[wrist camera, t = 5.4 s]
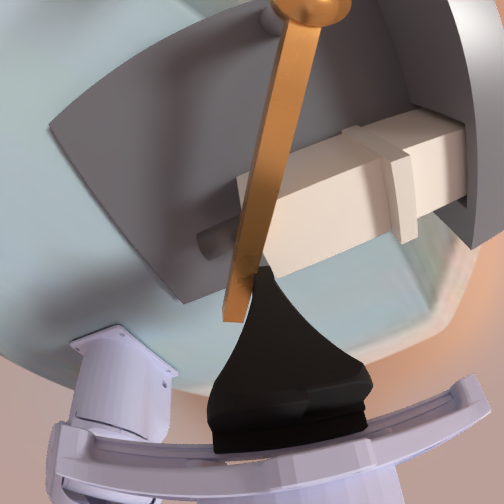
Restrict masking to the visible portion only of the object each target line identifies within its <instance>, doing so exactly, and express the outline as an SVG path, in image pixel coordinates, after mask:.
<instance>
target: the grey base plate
mask: <svg viewBox="0 0 504 504" xmlns="http://www.w3.org/2000/svg"><path fill="white" fill-rule="evenodd" d="M351 1H352V3H351V8H350V11H349V13H348V14H347V15H346V17H345V18H344V19H342V20H341V21H339V22H337V23H335V24H332V25H329V26H326V27H323V28H321V31H320V35H319V39H318V43H317V47H316V51H315V55H314V59H313V63H312V67H311V71H310V75H309V79H308V83H307V87H306V91H305V95H304V99H303V102H302V106H301V110H300V114H299V118H298V122H297V126H296V130H295V133H294V137H293V141H292V145H291V149H290V152H289V154H291V153H293V152H295V151H298V150H300V149H303V148H305V147H308V146H311V145H313V144H316V143H318V142H321V141H323V140H326V139H329V138H331V137H334V136H337V135H340V134H342V131H341V130H343V129H346V128H349V127H352V126H355V125H358V126H360V127H362V126H365V125H368V124H371V123H374V122H377V121H380V120H383V119H386V118H389V117H393V116H396V115H399V114H402V113H406V112H409V111H412V110H416V109H419V108H423V107H424V108H427V109H430V110H433V111H435V112H438V113H441V114H443V115H446V116H448V117H451V118H453V119H456V120H458V121H460V122H463V123H465V130H466V143H467V165H468V192H467V195H465V196H463V197H461V198H459V199H457V200H455V201H453V202H451V203H449V204H447V205H445V206H443V207H440V208H438V209H436V210H434V211H433V212H434V213H435V214H436V215H437V216H438V217H439V218H440V219H441V220H442V221H443V222H444V223H445V224H446V225H447V226H448V227H449V228H450V229H451V230H452V231H453V232H454V233H455V234H456V235H457V236H458V237H459V238H460V239H461V240H462V241H463V242H464V243H465V244H466V245H467V246H468V247H469V248H470V249H471V250H472V249H474V248H476V247H478V246H479V245H481V244H482V243H484V242H486V241H487V240H489V239H490V238H492V237H494V236H495V235H497V234H498V233H500V232H501V231H503V230H504V29H503V26H502V22H501V19H500V16H499V13H498V10H497V7H496V4H495V1H494V0H351ZM283 24H284V21H282V20H281V19H280V18H279V17H278V16H277V15H276V14H275V13H274V11H273V10H272V8H271V5H270V2H269V0H254V1H250V2H247V3H244V4H242V5H239V6H236V7H233V8H230V9H228V10H225V11H223V12H220V13H218V14H215V15H213V16H210V17H208V18H206V19H203V20H201V21H199V22H197V23H195V24H192V25H190V26H188V27H186V28H184V29H182V30H180V31H178V32H176V33H174V34H172V35H170V36H168V37H166V38H165V39H163V40H161V41H159V42H157V43H156V44H154V45H152V46H150V47H149V48H147V49H145V50H144V51H142V52H140V53H139V54H137V55H136V56H134V57H132V58H131V59H129V60H128V61H126V62H125V63H123V64H122V65H120V66H119V67H117V68H116V69H114V70H113V71H112V72H110V73H109V74H107V75H106V76H105V77H103V78H102V79H101V80H99V81H98V82H97V83H95V84H94V85H93V86H91V87H90V88H89V89H88V90H86V91H85V92H84V93H83V94H82V95H80V96H79V97H78V98H77V99H76V100H74V101H73V102H72V103H71V104H70V105H69V106H67V107H66V108H65V109H64V110H63V111H62V112H61V113H60V114H59V115H58V116H56V117H55V118H54V119H53V120H52V121H51V122H50V123H49V126H50V128H51V129H52V131H53V133H54V134H55V136H56V137H57V139H58V141H59V142H60V144H61V145H62V147H63V149H64V150H65V152H66V153H67V155H68V156H69V158H70V159H71V161H72V163H73V164H74V166H75V167H76V169H77V170H78V171H79V173H80V174H81V176H82V177H83V179H84V180H85V182H86V183H87V185H88V186H89V187H90V189H91V190H92V192H93V193H94V194H95V196H96V197H97V199H98V200H99V201H100V203H101V204H102V206H103V207H104V208H105V210H106V211H107V212H108V214H109V215H110V216H111V218H112V219H113V220H114V222H115V223H116V224H117V225H118V227H119V228H120V229H121V231H122V232H123V233H124V234H125V236H126V237H127V238H128V240H129V241H130V242H131V243H132V245H133V246H134V247H135V248H136V249H137V251H138V252H139V253H140V254H141V256H142V257H143V258H144V259H145V260H146V262H147V263H148V264H149V265H150V266H151V268H152V269H153V270H154V271H155V272H156V274H157V275H158V276H159V277H160V278H161V279H162V281H163V282H164V283H165V284H166V285H167V286H168V287H169V289H170V290H171V291H172V292H173V293H174V294H175V295H176V296H177V298H178V299H179V300H180V301H181V302H182V303H183V304H186V303H189V302H191V301H194V300H197V299H199V298H202V297H204V296H207V295H209V294H212V293H215V292H217V291H220V290H222V289H225V288H226V286H227V280H228V275H229V270H230V265H231V260H232V255H233V251H231V252H229V253H227V254H224V255H222V256H220V257H217V258H215V259H213V260H210V261H208V260H206V259H205V258H204V256H203V255H202V253H201V251H200V249H199V247H198V244H197V240H196V235H197V233H199V232H201V231H203V230H206V229H208V228H210V227H212V226H214V225H217V224H219V223H221V222H223V221H225V220H228V219H230V218H232V217H234V216H236V215H239V214H241V204H240V198H239V191H238V185H237V178H236V177H238V176H240V175H242V174H244V173H246V172H249V171H250V167H251V163H252V158H253V153H254V149H255V144H256V140H257V135H258V131H259V126H260V122H261V117H262V113H263V108H264V104H265V99H266V95H267V91H268V86H269V82H270V78H271V73H272V69H273V65H274V61H275V56H276V52H277V48H278V44H279V40H280V36H281V32H282V28H283ZM259 266H270V265H269V263H268V262H267V260H266V258H265V256H264V254H263V253H262V257H261V260H260V264H259Z"/></svg>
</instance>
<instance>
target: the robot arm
mask: <svg viewBox="0 0 504 504" xmlns="http://www.w3.org/2000/svg"><path fill="white" fill-rule="evenodd" d="M70 346H71V347H72V348H73V349H74V350H76V351H77V352H78V353H79V354H81V355H82V356H83V359H82V362H81V366H80V370H79V374H78V378H77V382H76V387H75V391H74V396H73V401H72V405H71V410H70V416H69V420H68V421H67V422H64V421H60V422H59V423H56V424H54V426H53V428H52V431H51V435H50V439H49V444H48V451H47V458H46V492H47V494H48V495H49V498H50V501H51V502H52V503H53V504H161V502H162V500H163V499H167V500H179V501H197V504H405V501H404V498H403V493H402V490H401V486H400V482H399V479H398V475H397V471H396V468H395V466H396V465H399V464H401V463H403V462H405V461H408V460H410V459H412V458H414V457H416V456H419V455H421V454H423V453H425V452H427V451H429V450H430V449H433V448H435V447H437V446H439V445H441V444H442V443H444V442H446V441H448V440H450V439H451V438H453V437H455V436H457V435H458V434H460V433H462V432H463V431H465V430H466V429H468V428H469V427H471V426H472V425H474V424H475V423H476V422H478V421H480V420H481V419H482V418H484V417H485V416H486V415H488V414H489V413H490V412H491V411H492V410H491V408H490V405H489V403H488V401H487V399H486V397H485V394H484V392H483V390H482V388H481V386H480V384H479V382H478V380H477V378H476V376H475V374H474V373H472V374H470V375H468V376H466V377H464V378H462V379H460V380H459V381H457V382H456V383H455V384H453V385H452V386H451V388H450V389H449V390H447V391H444V392H442V393H440V394H438V395H436V396H433V397H431V398H428V399H426V400H424V401H421V402H419V403H416V404H413V405H411V406H408V407H406V408H403V409H400V410H397V411H394V412H391V413H389V414H386V415H383V416H379V417H376V418H373V419H369V420H366V417H365V414H364V410H365V405H364V402H363V401H364V399H365V398H366V397H367V396H368V394H369V393H370V392H371V390H372V388H373V383H372V380H371V378H370V375H369V373H368V371H367V370H366V368H365V366H364V364H363V363H362V362H360V361H358V360H357V359H355V358H353V357H351V356H350V355H348V354H347V353H345V352H344V351H342V350H341V349H339V348H338V347H336V346H335V345H334V344H333V343H331V342H330V341H329V340H328V339H326V338H325V337H324V336H323V335H321V334H320V333H319V332H318V331H317V330H316V329H315V328H314V327H312V326H311V325H310V324H309V323H308V322H307V321H306V320H305V319H304V317H303V316H302V315H301V314H300V313H299V312H298V311H297V310H296V308H295V307H294V306H293V305H292V304H291V302H290V301H289V300H288V299H287V297H286V296H285V294H284V293H283V292H282V290H281V289H280V287H279V286H278V284H277V283H276V281H275V280H274V275H273V272H272V269H271V267H270V266H259V268H258V271H257V273H254V286H253V289H252V302H251V305H250V309H249V313H248V316H247V319H246V322H245V325H244V327H243V330H242V333H241V335H240V337H239V340H238V342H237V344H236V346H235V348H234V350H233V352H232V354H231V356H230V358H229V359H228V361H227V363H226V365H225V366H224V368H223V370H222V371H221V373H220V374H219V376H218V377H217V379H216V380H215V382H214V385H213V388H212V390H211V393H210V397H209V400H208V405H207V422H208V425H209V427H210V429H211V431H212V435H213V444H197V445H195V444H164V443H161V442H162V441H163V440H164V438H165V436H166V435H167V433H168V430H169V426H170V406H171V385H172V378H173V377H177V376H178V371H176V370H175V369H174V368H172V367H171V366H170V365H168V364H167V363H166V362H164V361H163V360H162V359H161V358H159V357H158V356H157V355H155V354H154V353H153V352H152V351H150V350H149V349H148V348H147V347H146V346H144V345H143V344H142V343H141V342H139V341H138V340H137V339H136V338H135V337H134V336H132V335H131V334H130V333H129V332H128V331H127V330H125V329H124V328H123V327H122V326H120V325H115V326H112V327H110V328H107V329H104V330H102V331H99V332H96V333H93V334H91V335H88V336H85V337H83V338H80V339H77V340H74V341H72V342H71V343H70ZM264 458H270V459H267V460H264V461H257V462H251V463H244V464H235V465H227V464H226V463H225V461H242V460H254V459H264Z"/></svg>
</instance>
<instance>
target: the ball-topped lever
mask: <svg viewBox="0 0 504 504" xmlns="http://www.w3.org/2000/svg"><path fill="white" fill-rule="evenodd" d="M269 2H270V5H271V8H272V10H273V11H274V13H275V14H276V15H277V16H278V17H279V18H280V19H281V20H282V21H284V24H283V28H282V32H281V36H280V40H279V44H278V48H277V52H276V56H275V61H274V65H273V69H272V73H271V78H270V82H269V86H268V91H267V95H266V99H265V104H264V108H263V113H262V117H261V122H260V126H259V131H258V135H257V140H256V144H255V149H254V153H253V158H252V163H251V167H250V172H249V177H248V181H247V186H246V191H245V196H244V200H243V205H242V210H241V215H240V220H239V225H238V230H237V235H236V240H235V245H234V250H233V255H232V260H231V265H230V270H229V275H228V280H227V286H226V291H225V296H224V301H223V307H222V314H223V322H237V323H243V321H244V318H245V314H246V311H247V307H248V304H249V300H250V296H251V293H252V289H253V286H254V273H257V271H258V268H259V264H260V260H261V257H262V253H263V249H264V246H265V242H266V238H267V235H268V231H269V227H270V224H271V220H272V216H273V213H274V209H275V205H276V201H277V198H278V194H279V190H280V186H281V183H282V179H283V175H284V171H285V168H286V164H287V160H288V156H289V152H290V149H291V145H292V141H293V137H294V133H295V130H296V126H297V122H298V118H299V114H300V110H301V106H302V102H303V99H304V95H305V91H306V87H307V83H308V79H309V75H310V71H311V67H312V63H313V59H314V55H315V51H316V47H317V43H318V39H319V35H320V31H321V28H323V27H326V26H329V25H332V24H335V23H337V22H339V21H341V20H342V19H344V18H345V17H346V15H347V14H348V13H349V11H350V8H351V3H352V1H351V0H269Z"/></svg>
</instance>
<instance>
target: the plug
mask: <svg viewBox="0 0 504 504" xmlns="http://www.w3.org/2000/svg"><path fill="white" fill-rule="evenodd" d="M341 131H342V134H340V135H337V136H334V137H331V138H329V139H326V140H323V141H321V142H318V143H316V144H313V145H311V146H308V147H305V148H303V149H300V150H298V151H295V152H293V153H291V154H289V156H288V160H287V164H286V168H285V171H284V175H283V179H282V183H281V186H280V190H279V194H278V198H277V201H276V205H275V209H274V213H273V216H272V220H271V224H270V227H269V231H268V235H267V238H266V242H265V246H264V249H263V254H264V256H265V258H266V260H267V262H268V263H269V265H270V267H271V269H272V271H273V273H274V275H275V276H276V278H277V279H278V278H280V277H283V276H285V275H288V274H290V273H292V272H295V271H297V270H300V269H302V268H305V267H307V266H310V265H312V264H314V263H317V262H319V261H322V260H324V259H326V258H329V257H331V256H333V255H336V254H338V253H340V252H343V251H345V250H347V249H350V248H352V247H354V246H357V245H359V244H361V243H364V242H366V241H368V240H370V239H373V238H375V237H377V236H380V235H382V234H384V233H386V232H389V231H391V232H392V234H393V235H394V236H395V237H396V238H397V240H398V241H399V242H400V243H401V245H402V244H404V243H406V242H408V241H410V240H412V239H414V238H417V237H418V227H417V218H419V217H421V216H424V215H426V214H428V213H430V212H432V211H434V210H436V209H438V208H440V207H443V206H445V205H447V204H449V203H451V202H453V201H455V200H457V199H459V198H461V197H463V196H465V195H467V192H468V165H467V143H466V130H465V123H463V122H460V121H458V120H456V119H453V118H451V117H448V116H446V115H443V114H441V113H438V112H435V111H433V110H430V109H427V108H424V107H423V108H419V109H416V110H412V111H409V112H406V113H402V114H399V115H396V116H393V117H389V118H386V119H383V120H380V121H377V122H374V123H371V124H368V125H365V126H362V127H360V126H358V125H355V126H352V127H349V128H346V129H343V130H341ZM249 172H250V171H249ZM249 172H246V173H244V174H242V175H240V176H238V177H236V178H237V185H238V191H239V198H240V204H241V210H242V205H243V200H244V196H245V191H246V186H247V181H248V177H249ZM240 215H241V214H239V215H236V216H234V217H232V218H230V219H228V220H225V221H223V222H221V223H219V224H217V225H214V226H212V227H210V228H208V229H206V230H203V231H201V232H199V233H197V235H196V240H197V244H198V247H199V249H200V251H201V253H202V255H203V256H204V258H205V259H206V260H208V261H210V260H213V259H215V258H217V257H220V256H222V255H224V254H227V253H229V252H231V251H233V250H234V245H235V240H236V235H237V230H238V225H239V220H240Z"/></svg>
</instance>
